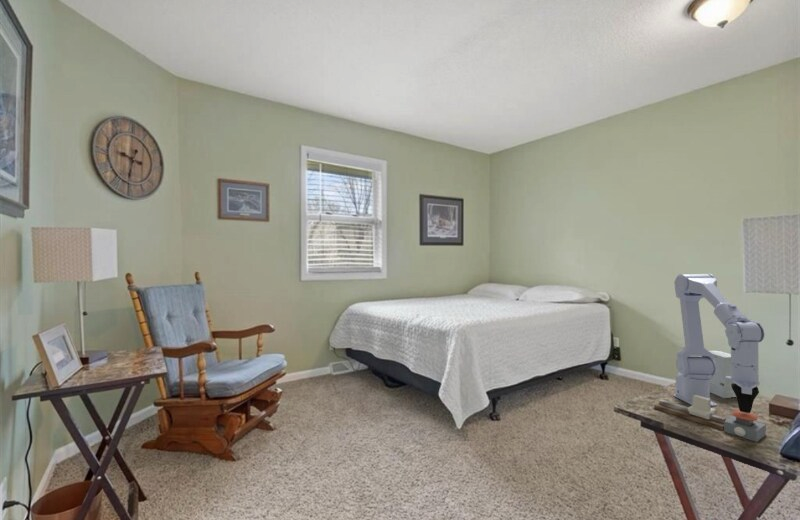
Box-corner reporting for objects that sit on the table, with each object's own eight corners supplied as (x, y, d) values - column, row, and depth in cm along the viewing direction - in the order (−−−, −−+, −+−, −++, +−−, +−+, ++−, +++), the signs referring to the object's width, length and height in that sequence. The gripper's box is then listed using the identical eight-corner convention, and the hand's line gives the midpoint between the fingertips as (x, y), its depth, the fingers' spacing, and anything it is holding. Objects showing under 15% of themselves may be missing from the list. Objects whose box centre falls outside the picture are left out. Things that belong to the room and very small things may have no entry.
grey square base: (723, 431, 106) (723, 421, 106) (733, 425, 110) (733, 415, 110) (756, 442, 100) (756, 431, 100) (765, 434, 104) (765, 424, 104)
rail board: (654, 408, 123) (654, 401, 122) (663, 404, 126) (663, 397, 126) (722, 430, 107) (722, 422, 107) (731, 424, 110) (730, 417, 110)
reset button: (729, 424, 106) (729, 413, 106) (736, 419, 109) (736, 408, 109) (753, 431, 102) (753, 419, 101) (760, 426, 104) (760, 415, 104)
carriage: (687, 414, 114) (687, 396, 114) (696, 409, 118) (696, 392, 117) (707, 420, 110) (707, 402, 110) (715, 415, 113) (715, 397, 113)
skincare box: (702, 390, 137) (702, 350, 137) (717, 389, 138) (717, 349, 137) (724, 399, 129) (724, 356, 128) (740, 397, 129) (740, 355, 129)
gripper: (724, 355, 113) (725, 399, 113) (726, 368, 102) (727, 416, 102) (756, 359, 108) (756, 405, 109) (762, 372, 97) (762, 423, 97)
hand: (744, 411), depth 105 cm, fingers closed
